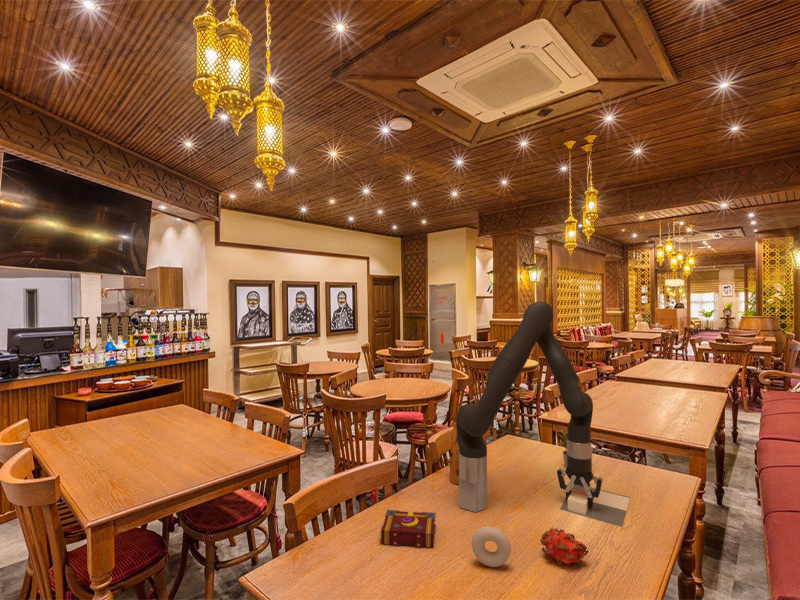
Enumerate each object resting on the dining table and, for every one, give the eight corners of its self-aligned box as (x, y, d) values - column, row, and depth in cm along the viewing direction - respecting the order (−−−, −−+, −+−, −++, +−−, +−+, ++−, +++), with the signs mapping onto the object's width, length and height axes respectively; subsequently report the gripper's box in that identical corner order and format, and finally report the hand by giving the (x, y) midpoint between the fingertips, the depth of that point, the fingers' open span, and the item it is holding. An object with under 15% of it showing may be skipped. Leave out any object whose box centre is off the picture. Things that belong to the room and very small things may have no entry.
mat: (622, 528, 121) (622, 526, 121) (559, 511, 131) (559, 508, 131) (630, 498, 139) (630, 496, 139) (574, 485, 149) (574, 483, 149)
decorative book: (434, 550, 112) (433, 532, 112) (376, 545, 114) (376, 528, 114) (435, 527, 123) (435, 510, 123) (383, 523, 125) (383, 507, 125)
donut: (511, 564, 105) (510, 526, 105) (511, 573, 102) (510, 533, 102) (472, 558, 108) (472, 521, 107) (471, 566, 104) (470, 528, 104)
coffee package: (450, 473, 160) (449, 418, 160) (482, 476, 157) (481, 419, 157) (448, 485, 150) (448, 426, 150) (482, 487, 148) (482, 427, 148)
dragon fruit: (536, 558, 110) (584, 575, 105) (538, 556, 103) (589, 574, 99) (541, 524, 114) (587, 539, 110) (542, 520, 107) (592, 536, 103)
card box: (586, 515, 127) (585, 503, 127) (567, 509, 131) (567, 498, 131) (590, 504, 134) (590, 493, 134) (573, 499, 137) (573, 488, 137)
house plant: (595, 479, 153) (595, 437, 153) (556, 474, 158) (556, 433, 158) (590, 465, 167) (590, 425, 167) (554, 461, 171) (554, 422, 171)
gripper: (553, 452, 133) (553, 503, 133) (601, 462, 125) (601, 517, 125) (559, 445, 139) (559, 494, 140) (605, 454, 131) (605, 506, 131)
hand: (579, 504), depth 132 cm, fingers closed on card box, 5 cm apart
